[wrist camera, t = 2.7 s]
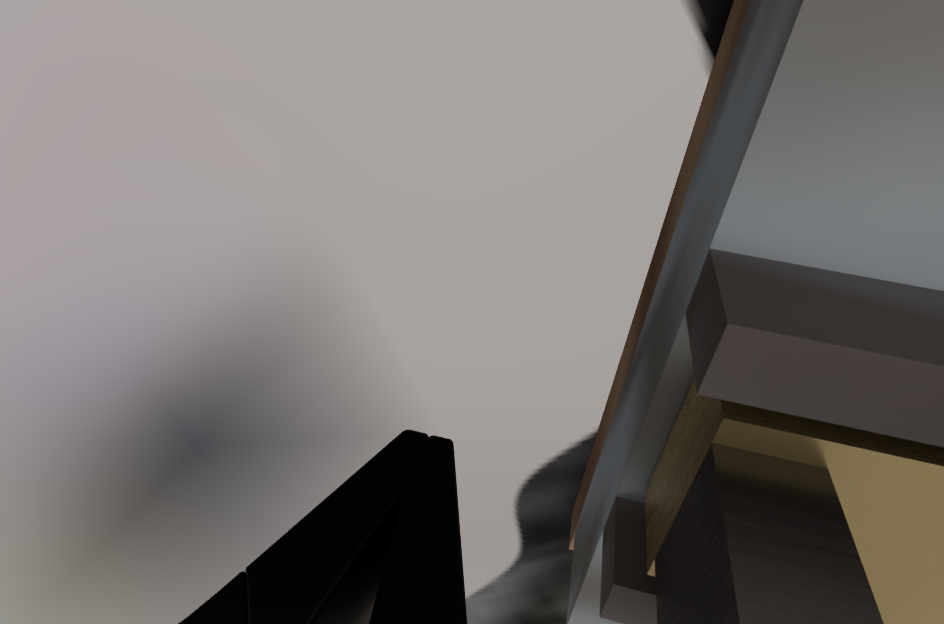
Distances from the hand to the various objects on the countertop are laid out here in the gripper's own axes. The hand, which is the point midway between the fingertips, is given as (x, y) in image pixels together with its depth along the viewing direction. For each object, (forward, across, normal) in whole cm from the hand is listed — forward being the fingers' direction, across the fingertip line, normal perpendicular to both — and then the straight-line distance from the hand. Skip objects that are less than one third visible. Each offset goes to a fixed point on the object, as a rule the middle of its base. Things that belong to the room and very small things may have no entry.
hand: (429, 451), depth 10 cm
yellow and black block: (+2, -7, 0) cm, 7 cm away
